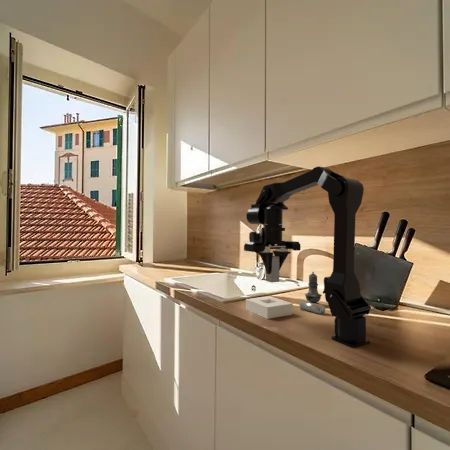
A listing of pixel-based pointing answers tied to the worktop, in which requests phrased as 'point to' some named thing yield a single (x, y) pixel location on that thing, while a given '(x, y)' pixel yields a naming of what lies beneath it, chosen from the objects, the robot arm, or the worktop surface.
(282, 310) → the socket block
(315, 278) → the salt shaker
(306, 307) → the round bit
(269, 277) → the square bit
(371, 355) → the worktop surface
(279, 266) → the robot arm
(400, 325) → the worktop surface
